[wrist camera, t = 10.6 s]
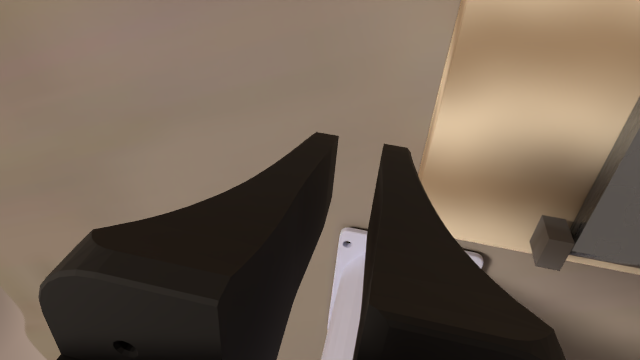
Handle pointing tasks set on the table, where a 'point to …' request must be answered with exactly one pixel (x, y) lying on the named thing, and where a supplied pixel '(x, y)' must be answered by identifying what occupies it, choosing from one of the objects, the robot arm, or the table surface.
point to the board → (530, 119)
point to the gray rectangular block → (613, 204)
